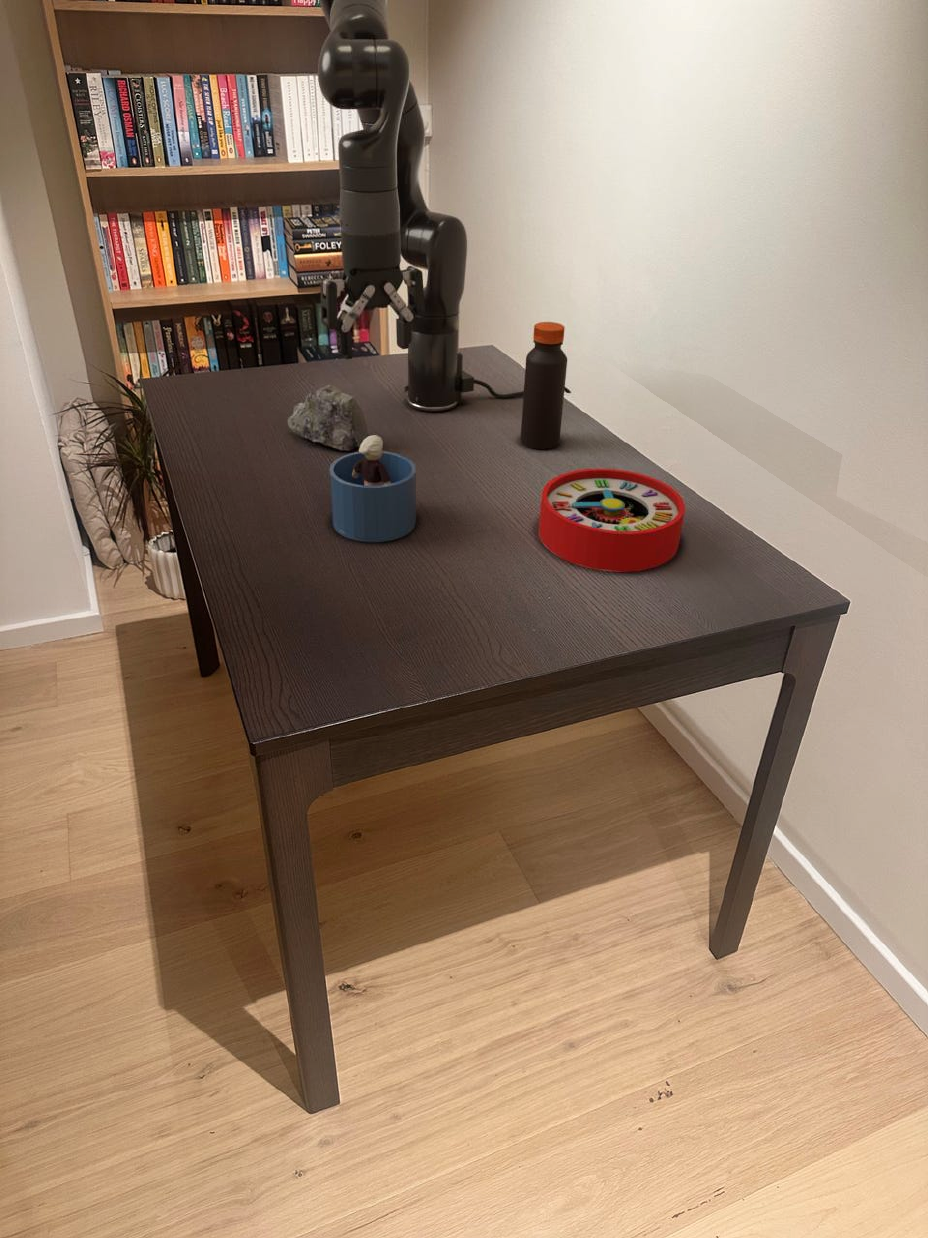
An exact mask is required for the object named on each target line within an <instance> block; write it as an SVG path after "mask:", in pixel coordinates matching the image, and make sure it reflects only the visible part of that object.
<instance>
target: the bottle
mask: <svg viewBox="0 0 928 1238" xmlns="http://www.w3.org/2000/svg"><path fill="white" fill-rule="evenodd" d="M565 329H566V328H565V326H564V325H563V324H561V323H558V322H553V321H540V322H537V323H535V324H534V326H533V335H532V336H533V337H532V339H533V341H532V342H533V343H534V347H533V348H532V349H530V351H528V352H527V354H526V357H525V368H524V382H523V391H524V394H523V395H522V409H521V425H520V436H519V437H520V442H521V444H522V445H524V446H526V448H531V449H533V450H534V449H535V450H551V449H553V448H555V447H557V446H558V445H559V444H560V440H561V431H562V419H563V411H564V410H563V409H564V399H565V391H564V390H565V387H566V379H567V370H568V369H567V368H568V356H567V355H566V353H565V352H564V351H563V349H562V345H563V344H564V339H565Z"/></svg>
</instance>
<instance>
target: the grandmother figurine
mask: <svg viewBox="0 0 928 1238" xmlns="http://www.w3.org/2000/svg"><path fill="white" fill-rule="evenodd" d="M383 442H384V441H383V439H382V437H380V436H379V435H377V434H372V435H368V437H367V438H366V439H364V441H363V442H362V444H361V445H360V447H358V452H360V453H361V454H364V455H365V457H366V458H364V459H361V460H359V461H358V462H357V463H356V464H355V465H354V466H353V468H354V469H353V473H352V477H353V478H355V479H356V478H358V476H359V473H363V479H364V486H379V485H383V484H384V485H387V484H391V482H390V481H391V480H390V477H389V475H388V472H387V470H386V467H385V465H384V464H382V463H381V462H380V461H379V460H378V459H380V458H381V456H382V451H383V445H384V443H383Z"/></svg>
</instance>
